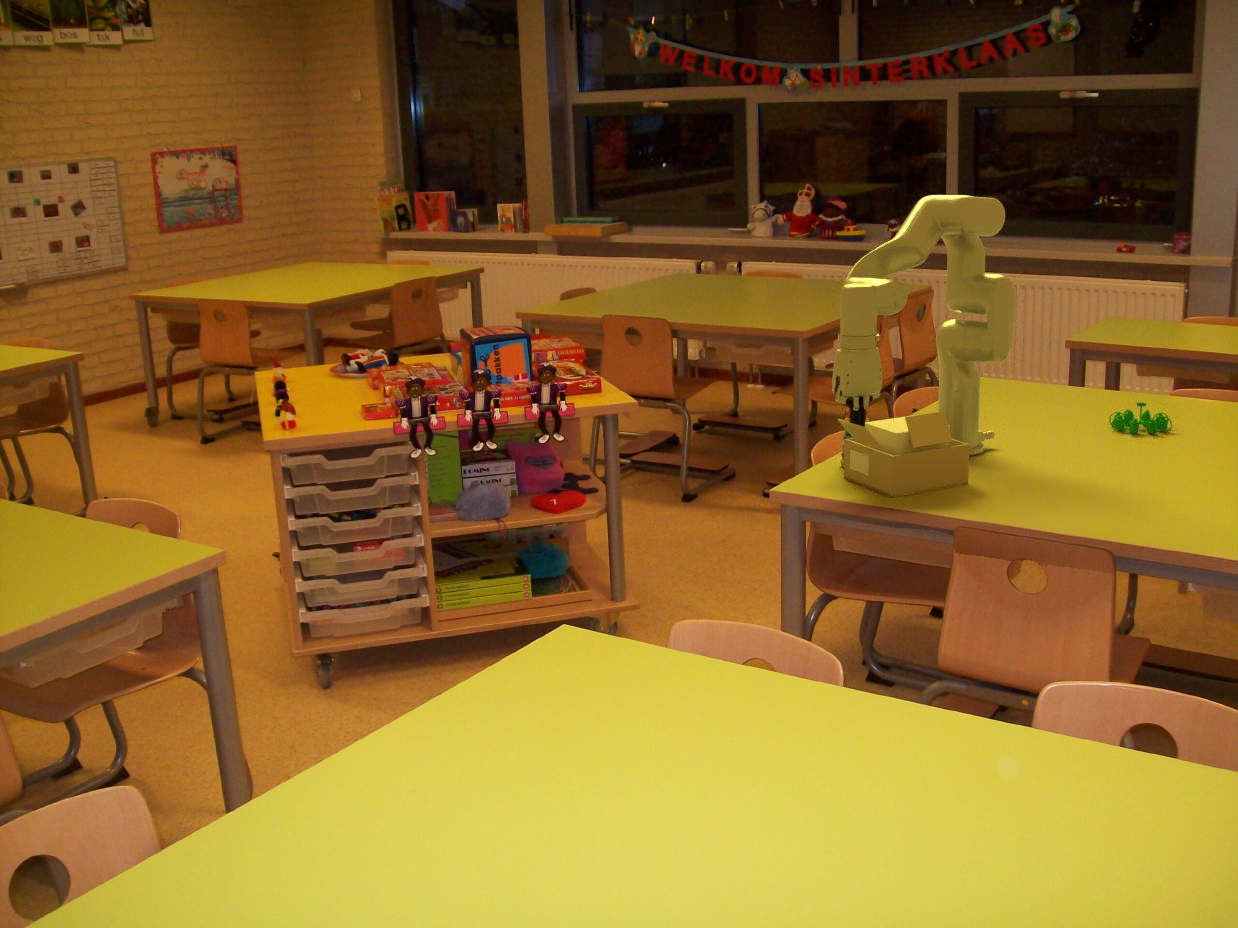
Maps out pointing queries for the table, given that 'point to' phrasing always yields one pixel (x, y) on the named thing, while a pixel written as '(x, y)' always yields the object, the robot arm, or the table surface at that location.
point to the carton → (904, 461)
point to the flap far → (860, 433)
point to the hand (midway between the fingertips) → (857, 427)
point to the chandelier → (1140, 421)
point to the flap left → (928, 429)
